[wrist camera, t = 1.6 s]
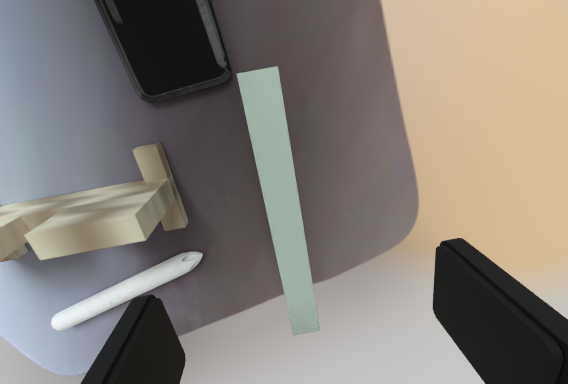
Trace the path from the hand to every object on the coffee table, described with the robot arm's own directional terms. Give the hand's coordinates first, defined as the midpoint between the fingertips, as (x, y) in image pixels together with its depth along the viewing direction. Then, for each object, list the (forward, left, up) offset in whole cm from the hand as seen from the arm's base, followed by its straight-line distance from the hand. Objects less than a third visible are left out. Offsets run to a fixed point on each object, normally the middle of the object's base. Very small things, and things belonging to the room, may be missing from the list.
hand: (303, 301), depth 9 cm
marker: (+11, -18, -18) cm, 27 cm away
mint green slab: (+2, 0, -17) cm, 17 cm away
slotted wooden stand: (+1, -19, -17) cm, 25 cm away
